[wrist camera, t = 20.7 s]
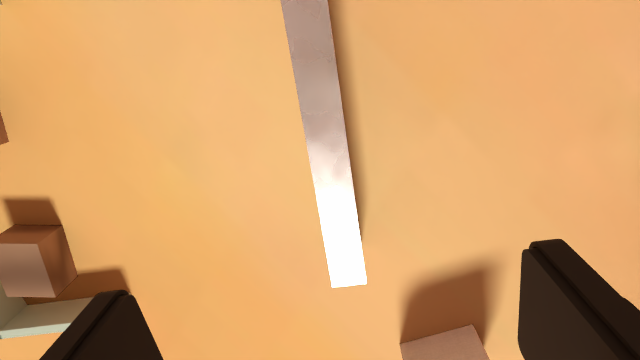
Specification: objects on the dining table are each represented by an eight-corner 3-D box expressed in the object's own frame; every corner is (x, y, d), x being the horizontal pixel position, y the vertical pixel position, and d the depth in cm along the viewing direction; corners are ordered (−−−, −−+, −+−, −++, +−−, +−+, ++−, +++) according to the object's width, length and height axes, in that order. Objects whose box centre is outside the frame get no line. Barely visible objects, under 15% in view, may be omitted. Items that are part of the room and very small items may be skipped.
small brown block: (16, 223, 31) (-15, 243, 28) (63, 224, 30) (36, 243, 28) (34, 273, 33) (7, 296, 30) (79, 274, 32) (55, 297, 30)
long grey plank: (285, -22, 23) (274, -35, 19) (323, -29, 23) (321, -44, 18) (332, 248, 31) (332, 287, 26) (361, 244, 30) (366, 283, 26)
